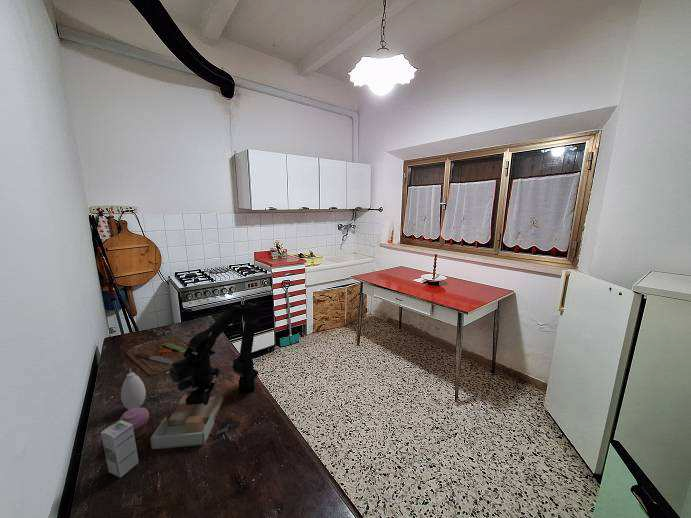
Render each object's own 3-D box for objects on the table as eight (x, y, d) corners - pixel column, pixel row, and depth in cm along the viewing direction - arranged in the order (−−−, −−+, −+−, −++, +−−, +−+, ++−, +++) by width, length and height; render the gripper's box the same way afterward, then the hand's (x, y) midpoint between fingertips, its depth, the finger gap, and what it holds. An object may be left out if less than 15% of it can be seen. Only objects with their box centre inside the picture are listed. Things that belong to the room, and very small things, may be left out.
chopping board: (208, 356, 151) (208, 351, 151) (153, 380, 130) (152, 374, 129) (173, 335, 177) (173, 331, 177) (122, 352, 156) (122, 347, 155)
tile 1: (197, 401, 111) (196, 394, 111) (192, 409, 106) (191, 402, 106) (184, 402, 111) (183, 395, 110) (178, 410, 106) (177, 403, 105)
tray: (214, 423, 103) (213, 413, 102) (204, 444, 93) (203, 433, 93) (166, 427, 101) (165, 417, 100) (151, 449, 91) (150, 438, 91)
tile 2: (202, 416, 99) (198, 422, 96) (204, 427, 100) (200, 434, 97) (189, 416, 99) (184, 422, 96) (190, 428, 100) (185, 434, 97)
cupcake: (127, 450, 91) (123, 424, 90) (115, 439, 95) (111, 414, 94) (155, 431, 99) (152, 407, 97) (143, 422, 103) (140, 399, 101)
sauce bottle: (145, 398, 116) (140, 360, 113) (148, 408, 111) (143, 368, 108) (122, 407, 111) (116, 367, 108) (124, 418, 105) (118, 376, 102)
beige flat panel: (223, 401, 115) (222, 396, 114) (213, 422, 103) (212, 416, 103) (183, 404, 113) (182, 399, 113) (168, 426, 101) (167, 420, 101)
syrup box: (139, 462, 87) (133, 422, 84) (119, 479, 81) (112, 437, 79) (127, 457, 89) (121, 418, 86) (106, 473, 83) (99, 432, 81)
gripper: (190, 357, 112) (194, 390, 114) (167, 385, 94) (172, 424, 96) (218, 355, 113) (221, 388, 116) (201, 382, 95) (205, 421, 98)
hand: (206, 404), depth 106 cm, fingers closed
